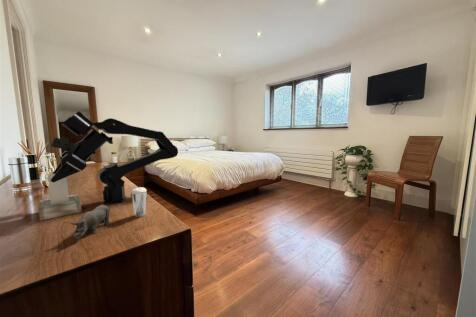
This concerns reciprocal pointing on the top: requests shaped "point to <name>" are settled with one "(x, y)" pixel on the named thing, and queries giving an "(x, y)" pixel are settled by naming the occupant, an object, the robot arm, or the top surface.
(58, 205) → the coin box
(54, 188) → the peg
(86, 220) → the rhino figurine
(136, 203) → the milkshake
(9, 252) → the top surface
